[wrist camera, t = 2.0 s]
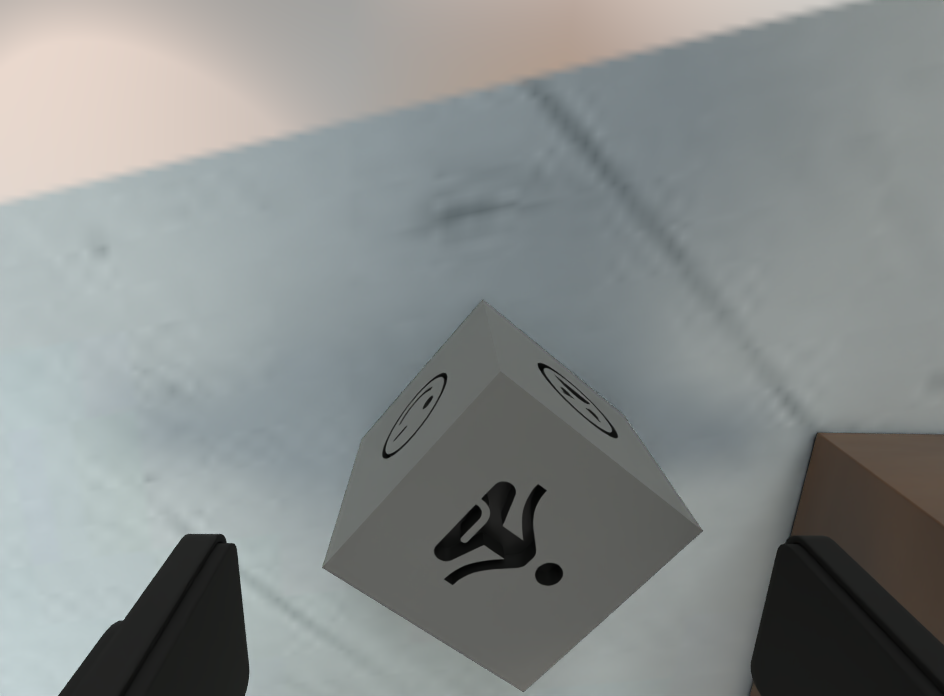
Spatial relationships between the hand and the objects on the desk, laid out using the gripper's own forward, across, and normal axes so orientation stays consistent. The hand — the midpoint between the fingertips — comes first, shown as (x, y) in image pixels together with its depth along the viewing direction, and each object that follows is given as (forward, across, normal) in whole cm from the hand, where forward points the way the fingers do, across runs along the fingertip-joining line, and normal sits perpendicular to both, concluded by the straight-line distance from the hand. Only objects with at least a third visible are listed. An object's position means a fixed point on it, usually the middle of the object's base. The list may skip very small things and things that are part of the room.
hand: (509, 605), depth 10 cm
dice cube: (+6, 0, -1) cm, 6 cm away
